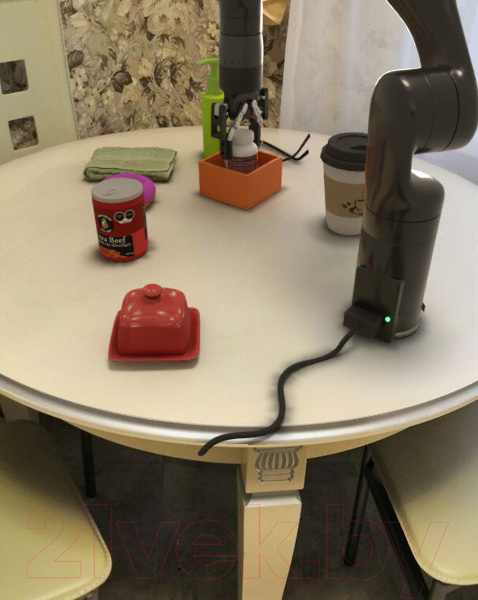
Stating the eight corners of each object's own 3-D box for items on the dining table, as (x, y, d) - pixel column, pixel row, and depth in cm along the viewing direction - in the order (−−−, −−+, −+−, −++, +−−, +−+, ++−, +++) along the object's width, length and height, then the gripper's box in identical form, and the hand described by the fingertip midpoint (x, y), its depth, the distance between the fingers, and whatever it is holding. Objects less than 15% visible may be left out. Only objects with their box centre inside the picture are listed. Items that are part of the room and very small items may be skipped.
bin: (247, 210, 112) (247, 176, 108) (199, 194, 117) (198, 161, 113) (281, 189, 119) (282, 156, 115) (234, 174, 125) (234, 143, 121)
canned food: (90, 255, 99) (79, 192, 92) (120, 234, 104) (112, 173, 98) (129, 267, 96) (121, 203, 89) (158, 244, 102) (152, 182, 95)
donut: (149, 216, 110) (147, 192, 107) (93, 213, 111) (90, 189, 108) (161, 191, 118) (159, 169, 116) (109, 189, 119) (106, 166, 117)
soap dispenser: (195, 153, 134) (190, 57, 122) (224, 148, 136) (222, 53, 125) (205, 163, 129) (201, 64, 118) (235, 158, 132) (234, 60, 120)
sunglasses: (303, 179, 123) (304, 155, 120) (233, 172, 126) (233, 148, 123) (316, 149, 136) (318, 126, 133) (253, 143, 139) (253, 121, 136)
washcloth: (171, 183, 121) (170, 168, 119) (82, 183, 121) (79, 167, 120) (178, 158, 132) (177, 143, 130) (96, 157, 132) (94, 142, 130)
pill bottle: (263, 190, 117) (265, 134, 111) (236, 198, 114) (236, 141, 108) (245, 179, 121) (245, 124, 115) (218, 186, 119) (217, 131, 112)
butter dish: (201, 313, 86) (198, 261, 81) (199, 368, 77) (196, 313, 72) (118, 315, 86) (111, 262, 81) (106, 370, 76) (97, 315, 71)
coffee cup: (329, 245, 101) (337, 159, 93) (305, 215, 110) (310, 133, 102) (392, 236, 104) (406, 151, 95) (363, 207, 113) (373, 126, 104)
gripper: (233, 73, 98) (233, 169, 107) (282, 55, 107) (279, 145, 116) (196, 65, 101) (200, 159, 111) (247, 48, 111) (247, 136, 120)
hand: (240, 151), depth 114 cm, fingers open, 8 cm apart
